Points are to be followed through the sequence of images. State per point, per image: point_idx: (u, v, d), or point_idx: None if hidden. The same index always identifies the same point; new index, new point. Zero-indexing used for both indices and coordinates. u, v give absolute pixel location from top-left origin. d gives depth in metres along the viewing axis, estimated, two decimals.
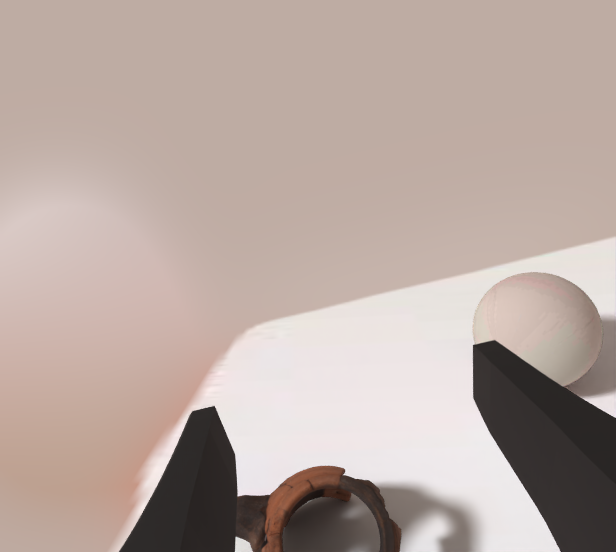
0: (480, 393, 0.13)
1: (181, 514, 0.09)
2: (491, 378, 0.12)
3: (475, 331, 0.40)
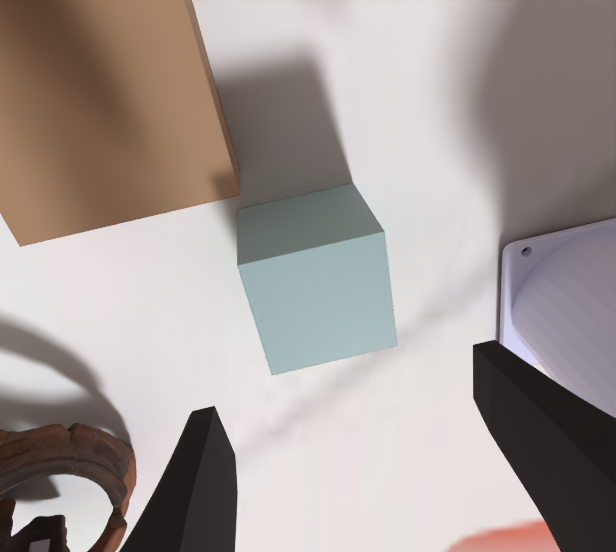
0: (480, 393, 0.13)
1: (181, 514, 0.09)
2: (491, 378, 0.12)
3: None
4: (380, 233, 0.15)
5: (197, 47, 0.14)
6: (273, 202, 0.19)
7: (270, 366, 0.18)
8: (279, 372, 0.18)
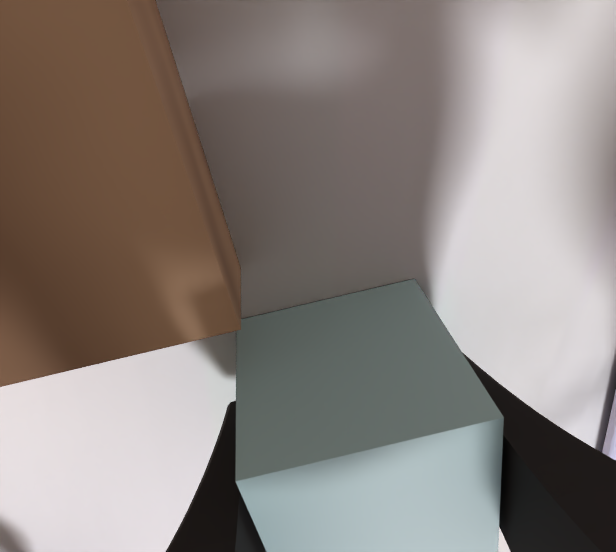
0: None
1: (232, 502, 0.09)
2: None
3: None
4: (496, 420, 0.08)
5: (156, 87, 0.07)
6: (292, 312, 0.12)
7: None
8: None
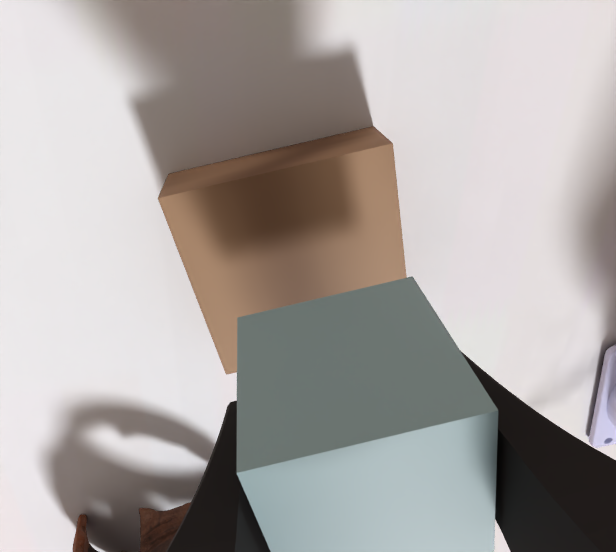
0: None
1: (232, 502, 0.09)
2: None
3: None
4: (491, 413, 0.09)
5: (400, 227, 0.17)
6: (292, 309, 0.13)
7: None
8: None
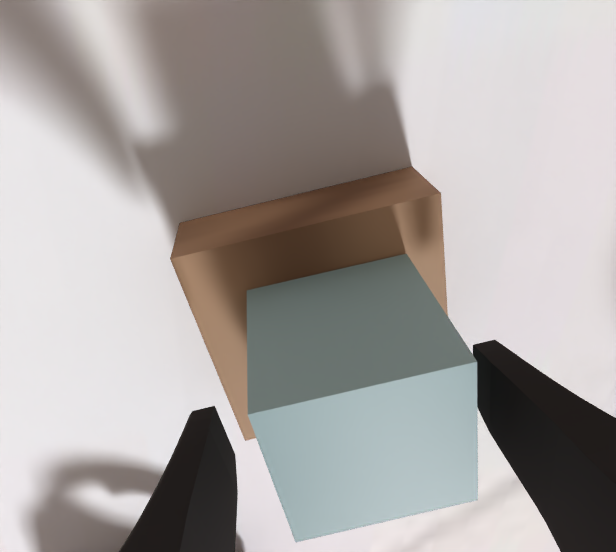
0: (480, 393, 0.13)
1: (181, 514, 0.09)
2: (491, 378, 0.12)
3: None
4: (470, 364, 0.10)
5: (444, 283, 0.15)
6: (296, 282, 0.14)
7: (294, 532, 0.12)
8: (306, 538, 0.12)
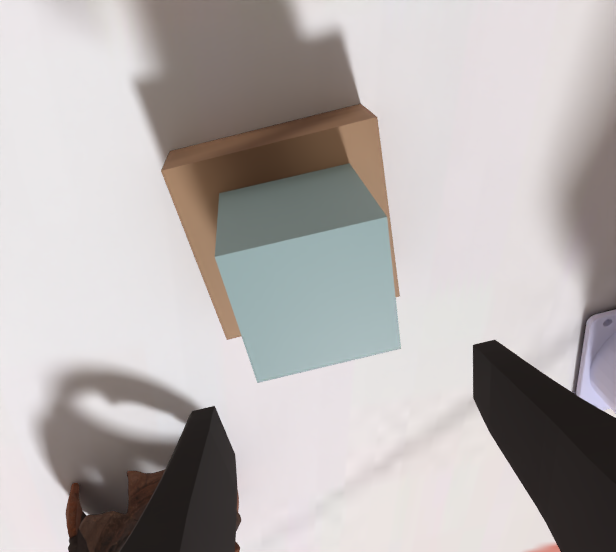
0: (480, 393, 0.13)
1: (181, 514, 0.09)
2: (491, 378, 0.12)
3: None
4: (382, 219, 0.13)
5: (386, 197, 0.18)
6: (259, 186, 0.17)
7: (255, 372, 0.15)
8: (266, 379, 0.16)
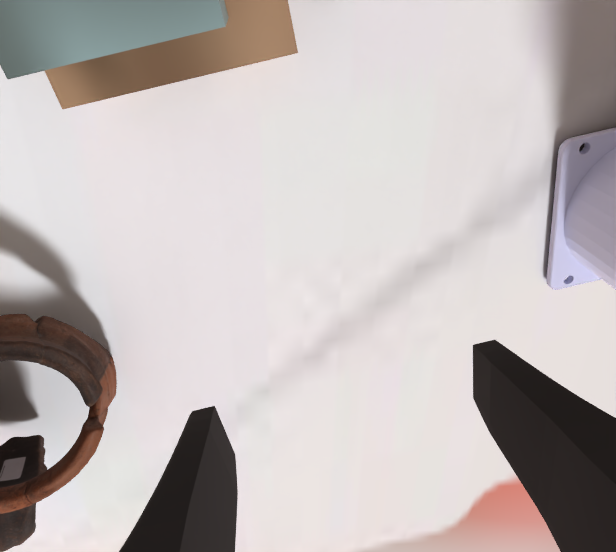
0: (480, 393, 0.13)
1: (181, 514, 0.09)
2: (491, 378, 0.12)
3: None
4: None
5: None
6: None
7: None
8: (20, 73, 0.10)
